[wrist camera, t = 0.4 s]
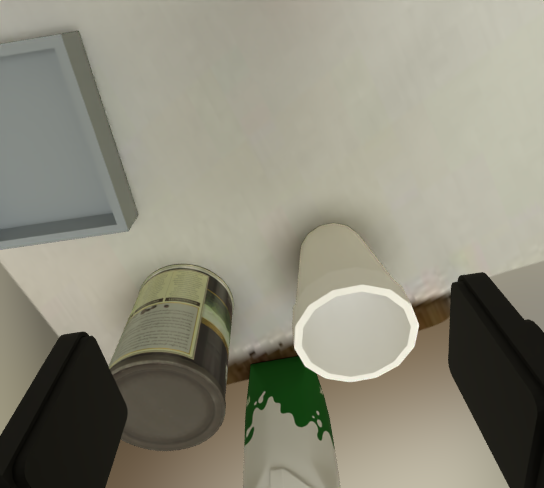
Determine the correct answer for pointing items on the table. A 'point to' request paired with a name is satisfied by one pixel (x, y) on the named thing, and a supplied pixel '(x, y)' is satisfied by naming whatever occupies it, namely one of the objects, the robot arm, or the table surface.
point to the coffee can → (175, 359)
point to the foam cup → (349, 309)
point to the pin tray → (56, 147)
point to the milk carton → (287, 429)
